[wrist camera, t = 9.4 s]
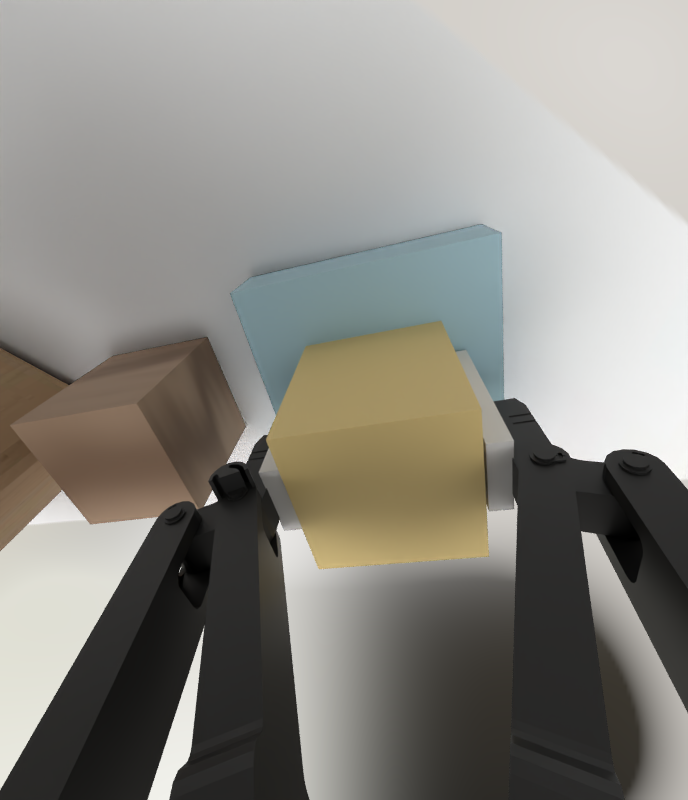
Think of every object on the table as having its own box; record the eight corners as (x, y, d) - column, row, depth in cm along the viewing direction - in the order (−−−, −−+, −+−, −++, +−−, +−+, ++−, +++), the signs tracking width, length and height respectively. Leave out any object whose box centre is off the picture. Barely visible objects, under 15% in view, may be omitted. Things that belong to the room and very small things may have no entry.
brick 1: (112, 355, 21) (9, 425, 15) (207, 336, 20) (136, 403, 14) (161, 438, 24) (90, 524, 18) (246, 425, 23) (200, 512, 17)
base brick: (250, 277, 18) (230, 293, 16) (481, 224, 16) (501, 232, 14) (310, 450, 24) (302, 483, 21) (489, 426, 22) (504, 459, 19)
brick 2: (305, 346, 17) (266, 439, 11) (441, 320, 16) (481, 409, 10) (336, 449, 20) (318, 569, 14) (452, 434, 18) (488, 556, 13)
